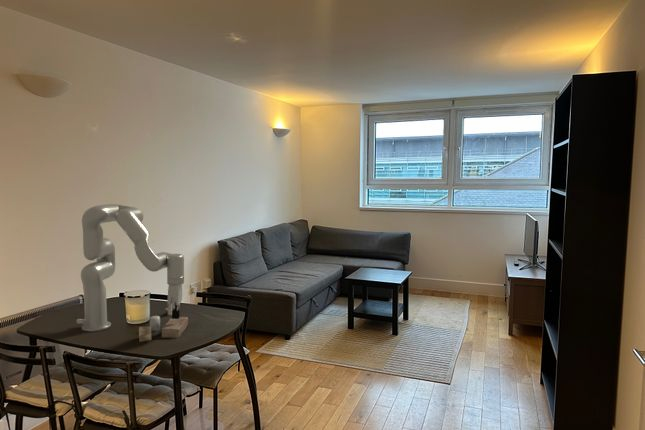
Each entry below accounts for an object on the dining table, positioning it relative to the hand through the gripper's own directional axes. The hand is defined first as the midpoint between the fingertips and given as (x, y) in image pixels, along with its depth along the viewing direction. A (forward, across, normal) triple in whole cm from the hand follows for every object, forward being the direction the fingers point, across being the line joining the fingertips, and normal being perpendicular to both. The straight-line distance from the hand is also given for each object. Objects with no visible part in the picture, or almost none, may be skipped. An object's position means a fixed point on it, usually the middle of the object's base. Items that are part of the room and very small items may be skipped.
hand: (175, 318), depth 210 cm
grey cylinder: (+7, -3, -10) cm, 13 cm away
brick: (+7, 0, 0) cm, 7 cm away
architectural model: (+7, -27, -8) cm, 29 cm away
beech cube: (+7, +9, -11) cm, 16 cm away
